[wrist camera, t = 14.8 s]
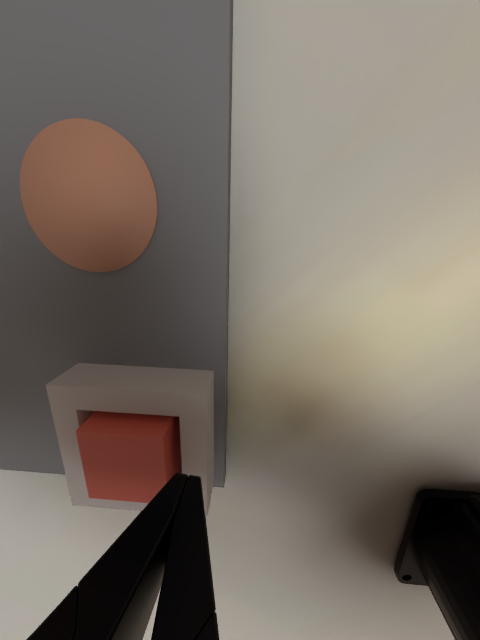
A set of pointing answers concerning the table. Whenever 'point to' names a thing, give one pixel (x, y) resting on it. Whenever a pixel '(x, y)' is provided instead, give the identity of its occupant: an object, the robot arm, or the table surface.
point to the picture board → (114, 227)
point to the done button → (129, 454)
